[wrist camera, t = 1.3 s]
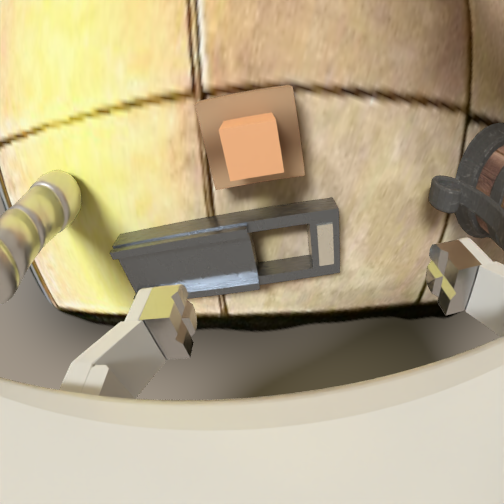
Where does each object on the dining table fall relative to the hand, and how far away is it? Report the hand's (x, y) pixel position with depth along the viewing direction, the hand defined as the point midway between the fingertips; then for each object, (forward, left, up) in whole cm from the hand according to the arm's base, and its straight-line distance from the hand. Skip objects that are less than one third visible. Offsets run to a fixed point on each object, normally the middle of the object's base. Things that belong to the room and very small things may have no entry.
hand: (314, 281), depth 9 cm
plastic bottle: (0, -24, -21) cm, 32 cm away
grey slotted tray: (+11, -7, -21) cm, 25 cm away
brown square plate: (-1, -2, -21) cm, 21 cm away
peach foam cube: (-1, -2, -18) cm, 18 cm away
